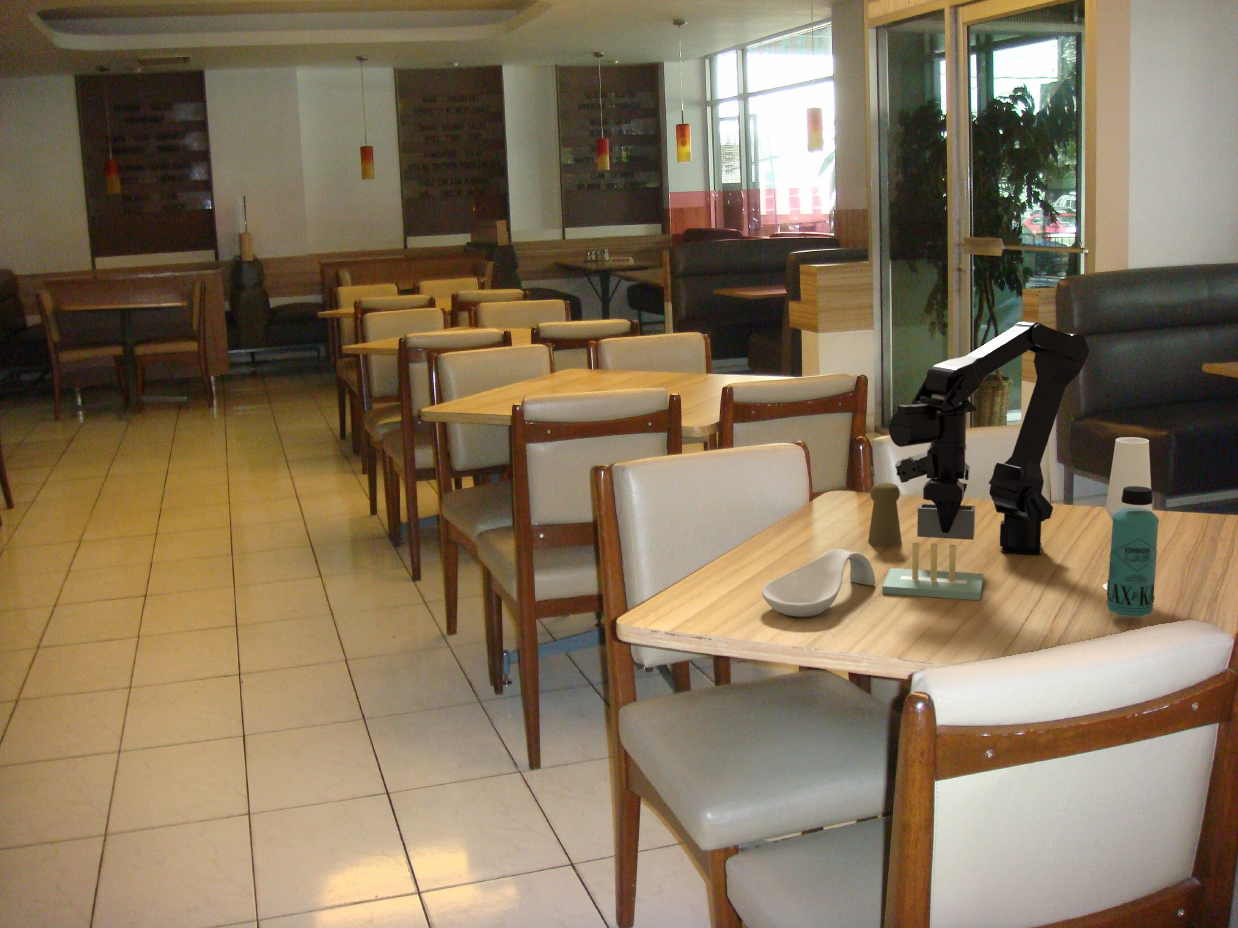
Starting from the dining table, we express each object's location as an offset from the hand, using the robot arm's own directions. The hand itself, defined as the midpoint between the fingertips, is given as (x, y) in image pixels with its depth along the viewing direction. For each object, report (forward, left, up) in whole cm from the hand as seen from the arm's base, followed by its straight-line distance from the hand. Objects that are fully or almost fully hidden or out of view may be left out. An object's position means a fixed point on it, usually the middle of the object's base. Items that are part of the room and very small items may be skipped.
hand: (946, 529), depth 206 cm
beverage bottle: (-28, +22, -6) cm, 36 cm away
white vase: (-28, +7, -6) cm, 30 cm away
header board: (+1, +13, -6) cm, 14 cm away
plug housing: (0, 0, -1) cm, 1 cm away
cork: (+12, -12, -6) cm, 18 cm away
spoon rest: (+17, +23, -7) cm, 30 cm away
